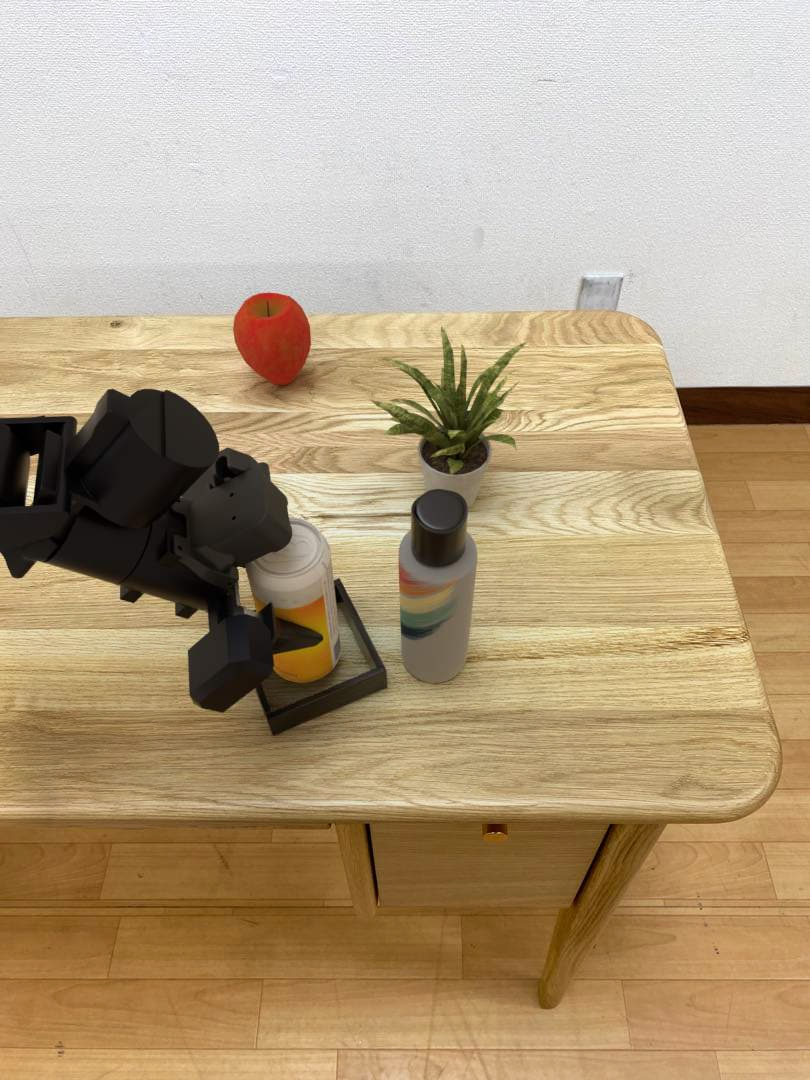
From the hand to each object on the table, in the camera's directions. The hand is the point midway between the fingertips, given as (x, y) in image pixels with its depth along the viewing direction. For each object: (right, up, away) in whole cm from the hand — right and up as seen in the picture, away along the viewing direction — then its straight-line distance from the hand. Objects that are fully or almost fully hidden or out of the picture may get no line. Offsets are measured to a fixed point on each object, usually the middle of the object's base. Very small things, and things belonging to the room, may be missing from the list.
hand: (314, 606), depth 60 cm
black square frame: (-1, -5, +7) cm, 8 cm away
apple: (-7, +24, +29) cm, 38 cm away
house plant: (+12, +11, +19) cm, 25 cm away
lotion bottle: (+10, -5, +7) cm, 13 cm away
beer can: (-1, -5, +6) cm, 7 cm away
